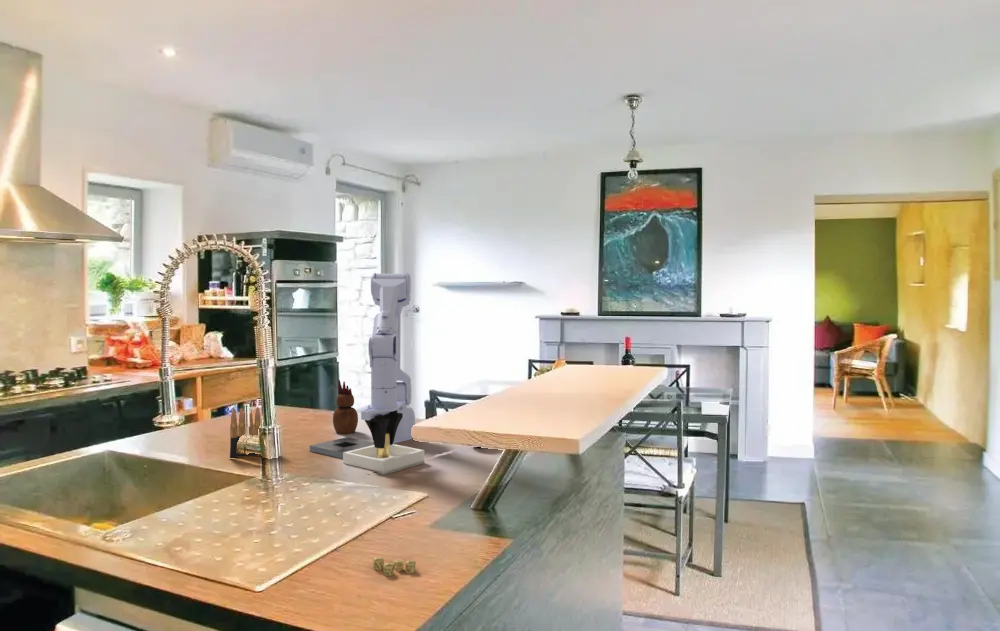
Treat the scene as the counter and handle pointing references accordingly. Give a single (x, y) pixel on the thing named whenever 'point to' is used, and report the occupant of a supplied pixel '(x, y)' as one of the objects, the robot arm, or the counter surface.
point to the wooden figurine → (345, 411)
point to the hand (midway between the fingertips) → (384, 446)
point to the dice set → (389, 566)
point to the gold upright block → (386, 450)
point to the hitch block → (339, 446)
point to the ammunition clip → (242, 431)
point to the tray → (397, 461)
